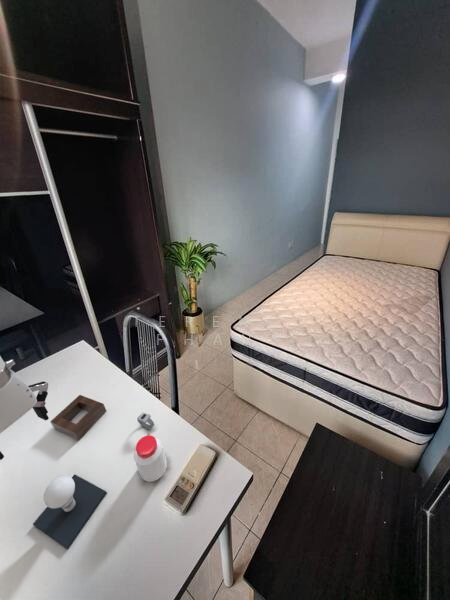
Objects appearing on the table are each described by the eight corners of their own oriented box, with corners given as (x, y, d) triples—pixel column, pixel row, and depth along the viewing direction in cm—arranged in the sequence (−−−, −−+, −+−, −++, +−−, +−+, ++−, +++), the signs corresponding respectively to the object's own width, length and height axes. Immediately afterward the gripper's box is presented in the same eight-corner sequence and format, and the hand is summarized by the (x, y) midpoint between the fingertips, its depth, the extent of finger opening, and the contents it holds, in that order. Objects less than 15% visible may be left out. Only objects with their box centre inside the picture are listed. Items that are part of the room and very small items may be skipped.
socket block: (54, 429, 85) (50, 421, 83) (83, 401, 94) (79, 394, 92) (79, 440, 80) (75, 433, 78) (106, 410, 90) (103, 403, 88)
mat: (34, 525, 61) (32, 524, 61) (75, 475, 71) (74, 474, 71) (68, 549, 57) (66, 547, 57) (107, 493, 67) (106, 491, 66)
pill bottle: (141, 487, 68) (132, 464, 62) (138, 460, 74) (130, 438, 69) (169, 474, 70) (163, 451, 65) (164, 449, 77) (157, 427, 71)
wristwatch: (157, 426, 84) (154, 416, 81) (151, 433, 81) (148, 423, 79) (142, 419, 86) (139, 410, 84) (137, 426, 84) (134, 417, 81)
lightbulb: (68, 491, 67) (53, 468, 62) (89, 494, 66) (75, 472, 61) (50, 520, 61) (32, 498, 56) (73, 524, 60) (57, 502, 55)
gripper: (20, 349, 56) (48, 400, 64) (-87, 411, 42) (-34, 467, 50) (42, 357, 53) (68, 409, 61) (-65, 426, 39) (-12, 482, 47)
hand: (22, 435), depth 56 cm, fingers open, 9 cm apart
